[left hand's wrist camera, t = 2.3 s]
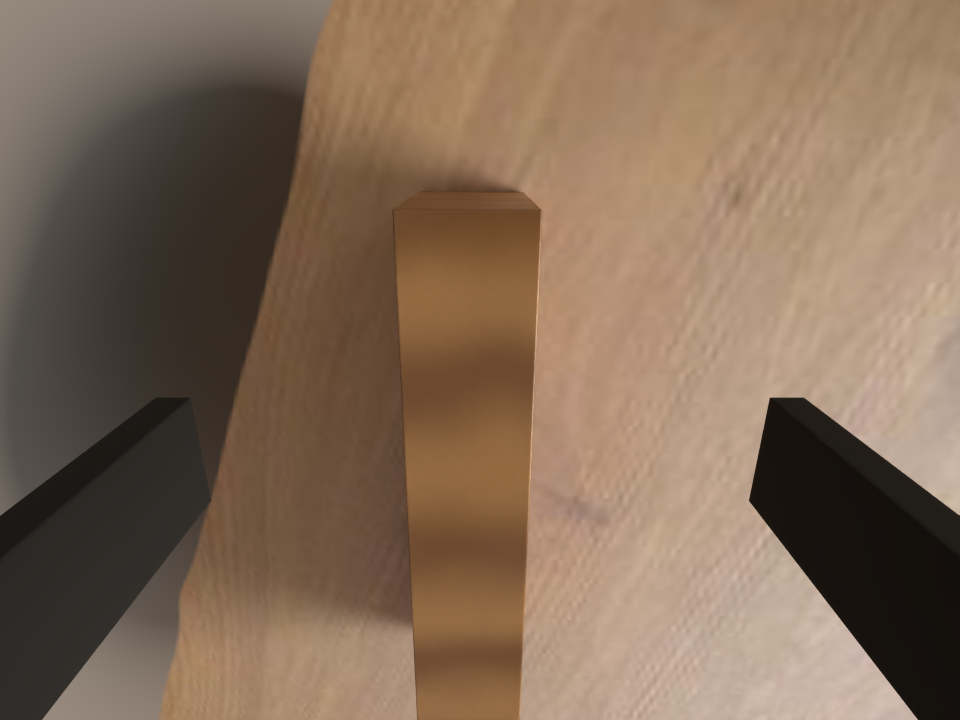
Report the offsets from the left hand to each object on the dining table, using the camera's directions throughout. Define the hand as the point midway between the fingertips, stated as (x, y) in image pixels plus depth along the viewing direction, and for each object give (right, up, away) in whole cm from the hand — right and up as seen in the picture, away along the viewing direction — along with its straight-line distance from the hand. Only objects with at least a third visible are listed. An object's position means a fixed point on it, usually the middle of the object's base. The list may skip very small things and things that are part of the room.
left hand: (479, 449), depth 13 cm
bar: (0, -3, +19) cm, 19 cm away
